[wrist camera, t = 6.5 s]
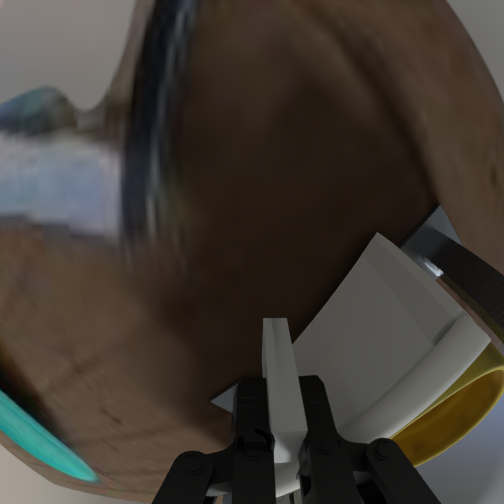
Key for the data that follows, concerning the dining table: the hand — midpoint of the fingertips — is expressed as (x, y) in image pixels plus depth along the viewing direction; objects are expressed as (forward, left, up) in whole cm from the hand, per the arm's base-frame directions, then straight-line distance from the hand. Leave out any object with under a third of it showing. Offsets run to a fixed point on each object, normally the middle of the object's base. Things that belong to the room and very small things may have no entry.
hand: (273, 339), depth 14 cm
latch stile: (+6, +10, -4) cm, 12 cm away
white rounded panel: (+4, -1, -3) cm, 5 cm away
